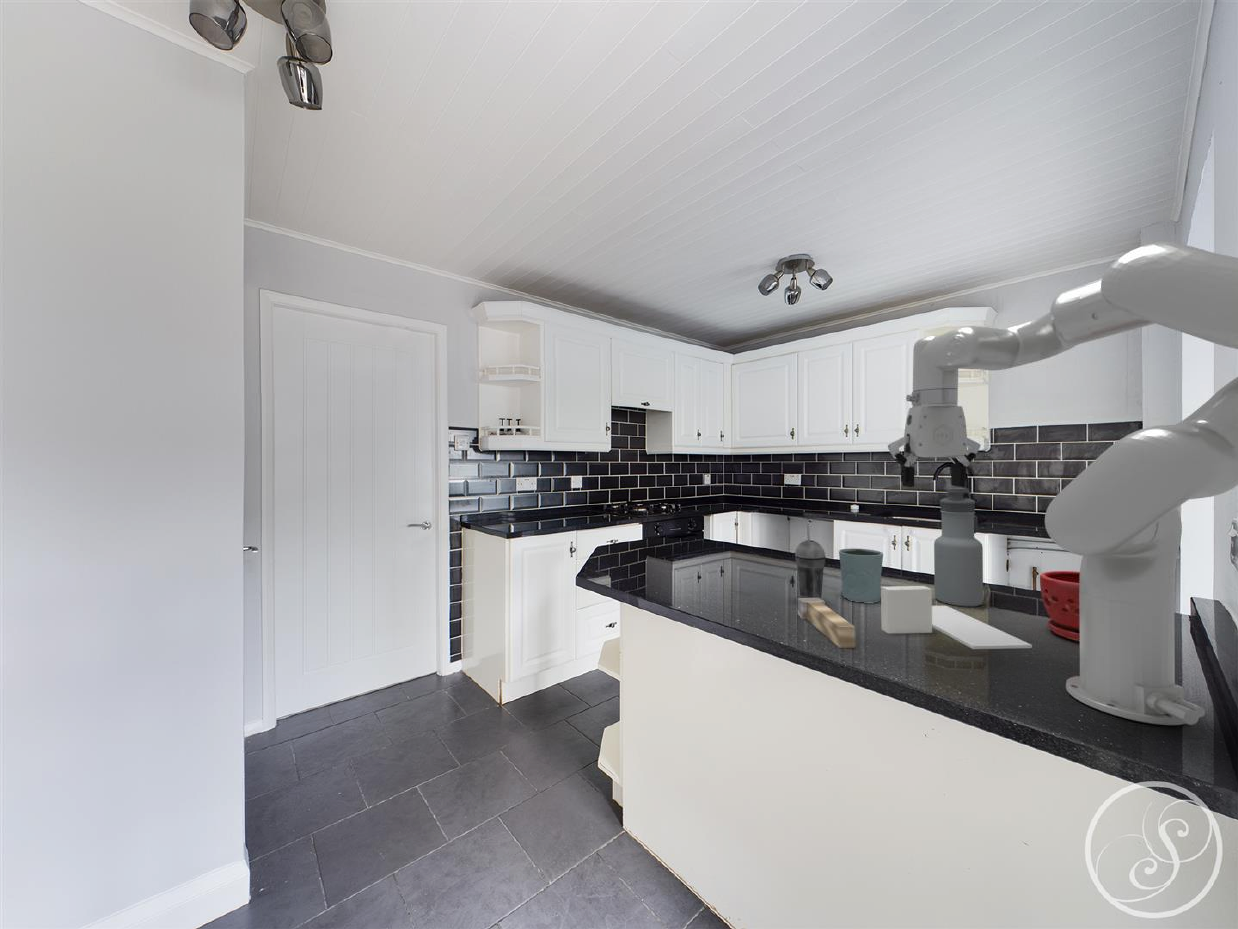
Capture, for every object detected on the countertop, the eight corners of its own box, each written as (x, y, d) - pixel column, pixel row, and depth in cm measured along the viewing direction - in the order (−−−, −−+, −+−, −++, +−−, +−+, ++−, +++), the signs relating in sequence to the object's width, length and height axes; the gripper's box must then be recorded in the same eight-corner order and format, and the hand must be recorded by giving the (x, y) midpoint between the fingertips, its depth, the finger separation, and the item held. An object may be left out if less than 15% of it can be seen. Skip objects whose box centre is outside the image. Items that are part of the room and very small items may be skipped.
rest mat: (1032, 648, 90) (1032, 645, 90) (973, 649, 90) (973, 646, 90) (945, 608, 114) (945, 605, 114) (899, 609, 114) (899, 606, 114)
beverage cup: (831, 602, 121) (830, 522, 120) (820, 609, 115) (818, 525, 115) (802, 596, 126) (801, 520, 125) (790, 603, 120) (789, 523, 120)
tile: (932, 632, 99) (931, 589, 99) (888, 633, 99) (887, 590, 99) (924, 628, 102) (923, 585, 101) (881, 629, 102) (880, 586, 101)
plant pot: (1102, 628, 100) (1101, 570, 100) (1152, 653, 87) (1152, 587, 87) (1026, 623, 103) (1026, 567, 103) (1064, 647, 91) (1064, 583, 90)
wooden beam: (860, 647, 92) (860, 626, 92) (834, 648, 92) (834, 627, 92) (819, 615, 111) (819, 597, 111) (797, 615, 111) (797, 598, 111)
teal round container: (845, 603, 119) (845, 555, 119) (834, 592, 129) (833, 547, 129) (890, 605, 118) (889, 555, 117) (875, 593, 127) (874, 547, 127)
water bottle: (941, 593, 126) (940, 486, 126) (987, 600, 119) (986, 487, 119) (929, 601, 119) (928, 488, 119) (977, 610, 112) (976, 489, 112)
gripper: (899, 399, 92) (898, 488, 93) (993, 397, 92) (991, 487, 92) (880, 402, 100) (879, 484, 101) (966, 401, 99) (964, 484, 100)
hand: (932, 486), depth 97 cm, fingers open, 9 cm apart
